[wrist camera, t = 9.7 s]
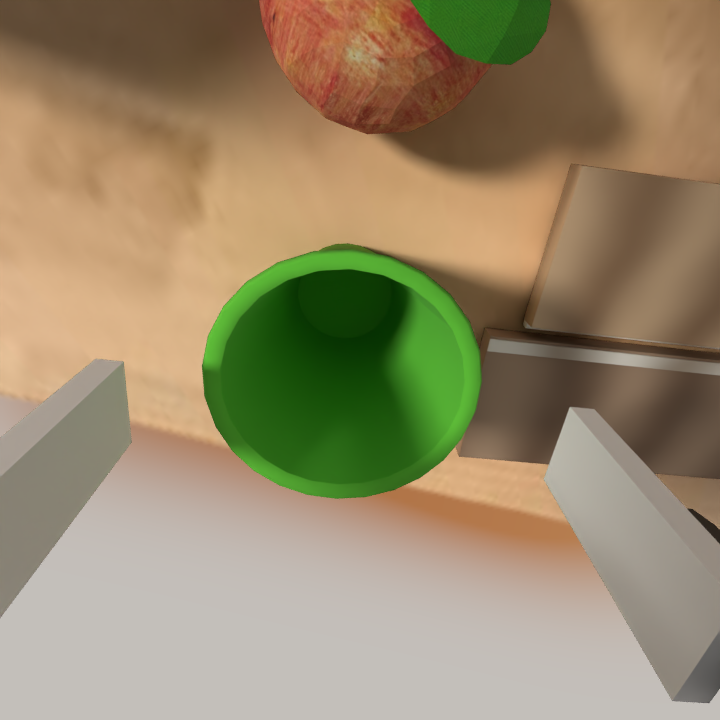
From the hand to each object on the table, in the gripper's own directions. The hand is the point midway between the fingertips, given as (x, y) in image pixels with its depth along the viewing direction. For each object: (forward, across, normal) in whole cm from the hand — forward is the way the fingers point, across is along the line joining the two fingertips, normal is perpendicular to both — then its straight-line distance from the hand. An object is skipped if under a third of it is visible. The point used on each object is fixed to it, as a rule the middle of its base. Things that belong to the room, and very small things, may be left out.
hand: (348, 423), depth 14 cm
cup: (+12, 0, 0) cm, 13 cm away
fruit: (+12, 0, +12) cm, 18 cm away
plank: (+12, +19, +4) cm, 23 cm away
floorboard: (+12, +19, -5) cm, 23 cm away
